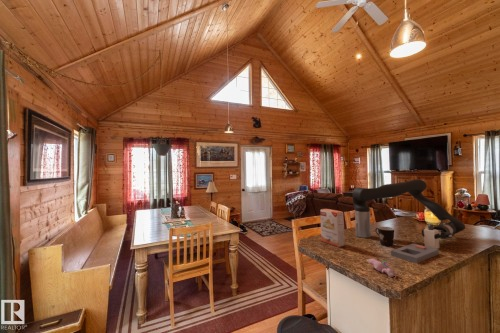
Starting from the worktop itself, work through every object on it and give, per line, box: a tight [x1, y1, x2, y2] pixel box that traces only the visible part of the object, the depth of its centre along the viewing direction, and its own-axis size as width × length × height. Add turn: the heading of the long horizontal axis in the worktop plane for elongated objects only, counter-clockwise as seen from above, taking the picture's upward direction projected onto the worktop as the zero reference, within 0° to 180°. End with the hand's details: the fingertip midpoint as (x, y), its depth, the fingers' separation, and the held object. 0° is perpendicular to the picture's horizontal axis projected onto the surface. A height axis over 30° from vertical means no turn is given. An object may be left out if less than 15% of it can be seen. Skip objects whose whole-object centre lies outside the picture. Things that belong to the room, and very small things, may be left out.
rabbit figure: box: [366, 258, 401, 280], centre depth 98 cm, size 6×6×15 cm
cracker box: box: [319, 208, 346, 248], centre depth 139 cm, size 14×6×21 cm, turn 27°
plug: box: [423, 223, 440, 249], centre depth 126 cm, size 5×5×13 cm
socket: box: [390, 243, 440, 264], centre depth 116 cm, size 22×12×3 cm, turn 118°
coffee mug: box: [374, 226, 395, 248], centre depth 134 cm, size 12×9×10 cm
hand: (429, 235), depth 125 cm, fingers closed on plug, 5 cm apart
